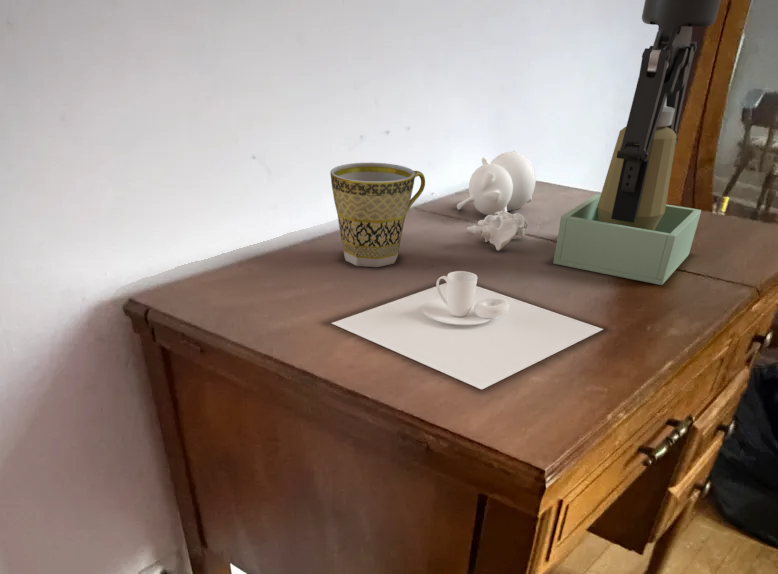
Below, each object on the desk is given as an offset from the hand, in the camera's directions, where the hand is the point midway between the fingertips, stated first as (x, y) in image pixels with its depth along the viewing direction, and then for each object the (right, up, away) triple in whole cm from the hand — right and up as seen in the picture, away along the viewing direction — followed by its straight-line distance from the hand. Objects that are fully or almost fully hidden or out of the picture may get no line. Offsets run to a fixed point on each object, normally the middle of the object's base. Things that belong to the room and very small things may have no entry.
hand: (633, 211), depth 89 cm
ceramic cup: (-31, -5, +3) cm, 32 cm away
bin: (0, -5, +4) cm, 6 cm away
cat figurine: (-14, +9, +20) cm, 26 cm away
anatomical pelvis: (-15, -1, +8) cm, 17 cm away
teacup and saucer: (-22, -19, -14) cm, 32 cm away
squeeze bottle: (0, -3, +2) cm, 3 cm away
